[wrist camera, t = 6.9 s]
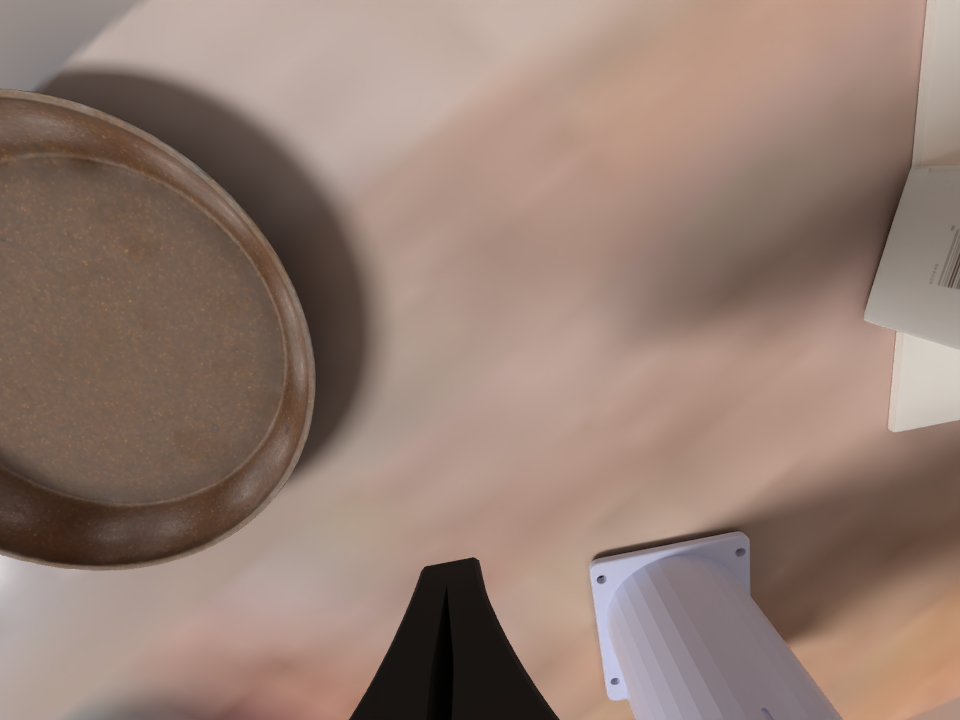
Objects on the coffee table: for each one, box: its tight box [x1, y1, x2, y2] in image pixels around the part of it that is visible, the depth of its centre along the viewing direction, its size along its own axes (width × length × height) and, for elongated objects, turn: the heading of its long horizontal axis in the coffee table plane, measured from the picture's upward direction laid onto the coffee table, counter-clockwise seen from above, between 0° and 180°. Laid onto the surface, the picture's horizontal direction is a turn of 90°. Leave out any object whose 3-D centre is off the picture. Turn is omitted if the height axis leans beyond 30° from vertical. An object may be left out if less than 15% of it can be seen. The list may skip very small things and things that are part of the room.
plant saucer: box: [0, 89, 316, 571], centre depth 19 cm, size 18×18×3 cm
